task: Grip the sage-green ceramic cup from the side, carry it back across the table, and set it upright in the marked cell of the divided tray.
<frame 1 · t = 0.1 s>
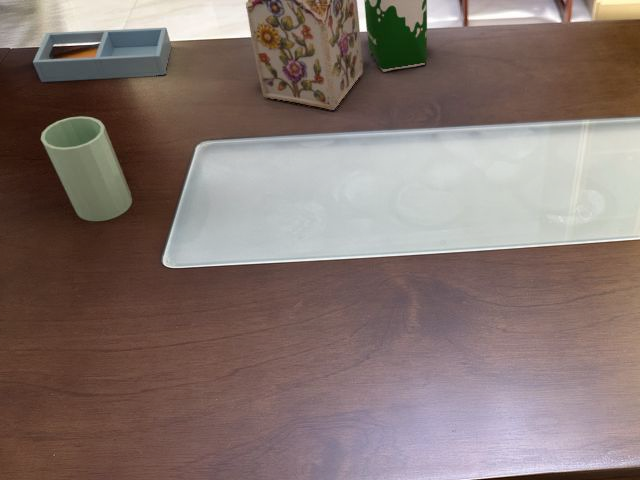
cup: (104, 204, 88), on the table
milk carton: (398, 60, 114), on the table
decorative jar: (315, 87, 108), on the table
divided tray: (109, 63, 111), on the table
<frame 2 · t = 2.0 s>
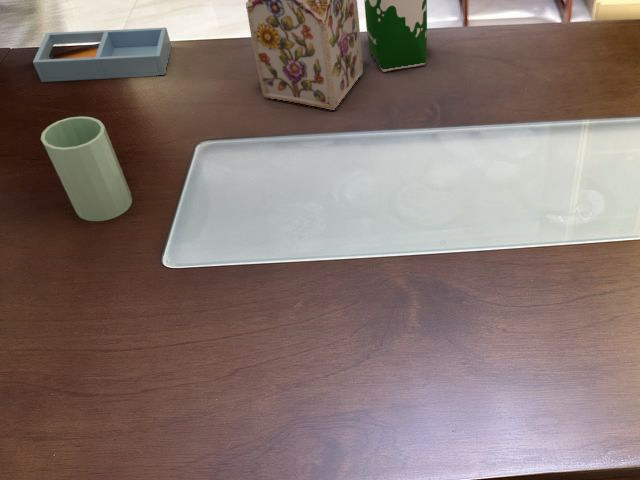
nothing on the table moved.
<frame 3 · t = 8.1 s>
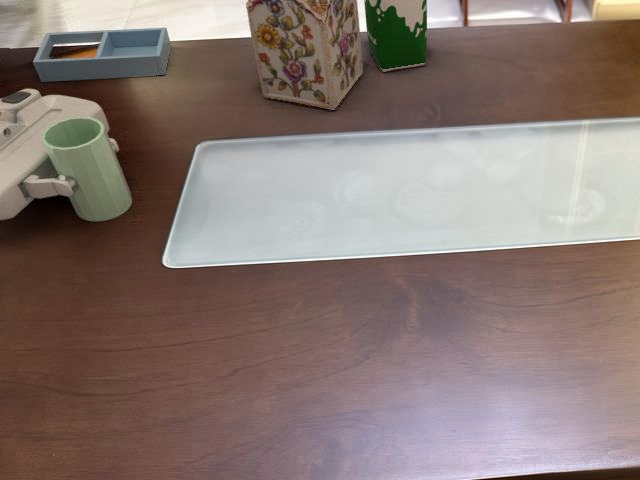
hand: (94, 167, 84), 6 cm above the table, tool horizontal, fingers closed on cup, 7 cm apart
cup: (104, 204, 88), on the table, touching gripper
everything else where it was.
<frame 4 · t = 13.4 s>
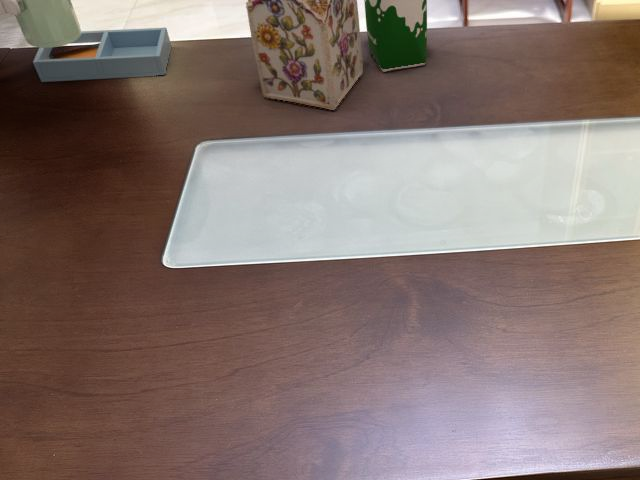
cup: (54, 35, 93), point 11 cm above the table, touching gripper
everything else where it was.
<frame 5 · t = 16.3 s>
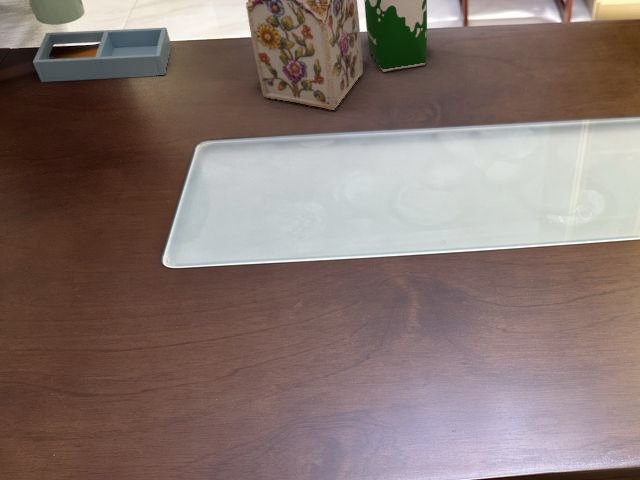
cup: (60, 14, 105), point 8 cm above the table, touching gripper
everything else where it was.
when the fingers open (6 cm above the table, at t = 18.8 s): cup stays where it is, resting on divided tray.
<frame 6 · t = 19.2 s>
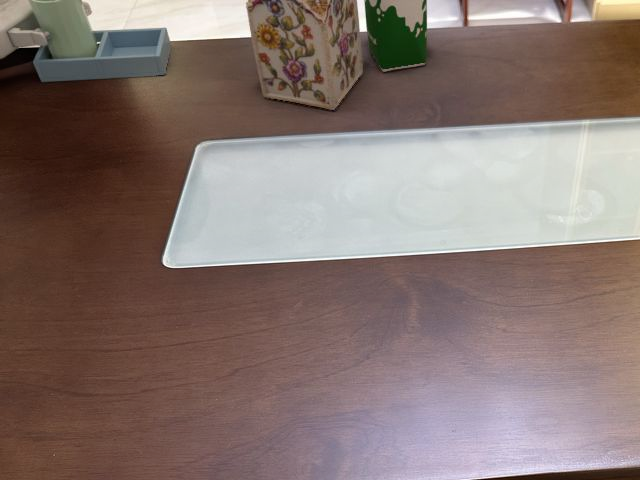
hand: (68, 24, 105), 7 cm above the table, tool horizontal, fingers open, 8 cm apart
cup: (78, 59, 110), point 1 cm above the table, touching divided tray
everything else where it was.
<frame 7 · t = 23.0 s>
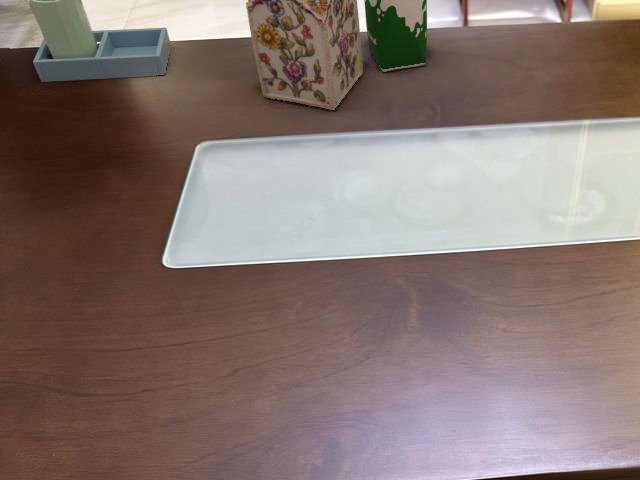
nothing on the table moved.
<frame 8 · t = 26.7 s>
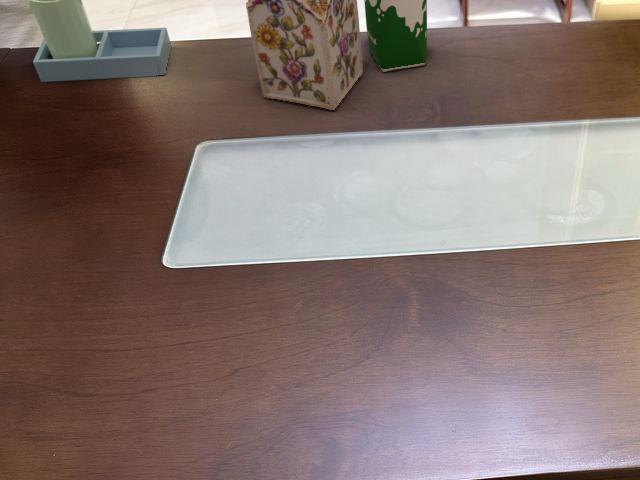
nothing on the table moved.
at the end: cup 0.2 cm from the target spot in the divided tray, point 0.8 cm above the divided tray's base; cup tilted 0°; the gripper is holding nothing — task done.
